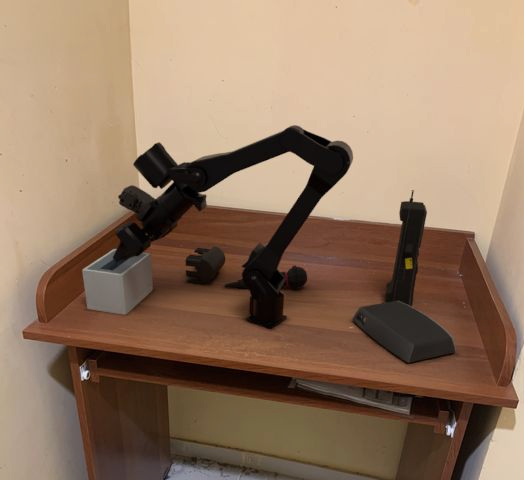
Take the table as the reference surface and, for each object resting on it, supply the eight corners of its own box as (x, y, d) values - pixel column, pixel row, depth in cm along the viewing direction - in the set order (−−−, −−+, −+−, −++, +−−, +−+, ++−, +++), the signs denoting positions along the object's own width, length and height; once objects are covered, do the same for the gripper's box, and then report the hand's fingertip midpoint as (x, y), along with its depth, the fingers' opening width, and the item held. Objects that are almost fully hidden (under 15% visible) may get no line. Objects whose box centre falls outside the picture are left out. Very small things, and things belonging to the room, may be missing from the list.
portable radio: (412, 311, 118) (434, 200, 106) (385, 308, 119) (404, 197, 107) (410, 297, 125) (431, 191, 112) (385, 294, 126) (403, 189, 113)
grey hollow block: (150, 253, 118) (114, 248, 120) (122, 275, 106) (82, 269, 108) (152, 290, 122) (117, 285, 124) (125, 315, 111) (87, 309, 112)
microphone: (226, 302, 125) (308, 292, 126) (224, 283, 121) (309, 274, 122) (225, 287, 129) (305, 278, 130) (222, 269, 125) (305, 259, 125)
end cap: (213, 287, 125) (213, 260, 122) (185, 283, 127) (184, 256, 123) (225, 272, 134) (225, 247, 131) (199, 269, 135) (199, 243, 132)
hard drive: (398, 313, 117) (401, 296, 115) (458, 354, 102) (463, 335, 100) (349, 321, 112) (351, 304, 110) (404, 365, 97) (408, 346, 95)
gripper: (161, 165, 110) (118, 212, 118) (120, 183, 94) (73, 236, 102) (197, 207, 113) (152, 250, 120) (163, 231, 97) (114, 279, 104)
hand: (124, 252), depth 111 cm, fingers open, 9 cm apart
